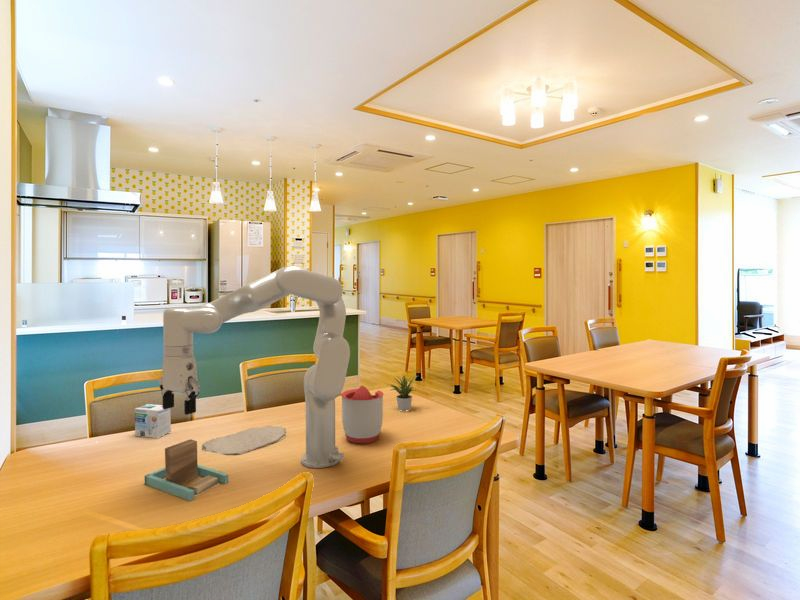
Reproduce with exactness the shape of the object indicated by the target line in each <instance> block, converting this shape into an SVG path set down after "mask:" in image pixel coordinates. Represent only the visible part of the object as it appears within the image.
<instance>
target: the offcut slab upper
mask: <svg viewBox="0 0 800 600" xmlns="http://www.w3.org/2000/svg"><path fill="white" fill-rule="evenodd" d="M217 484H219V482H218V478H216V477H212V476H206V477H202V478H201V479H198V480H196V481H194V482H192V483H191V484H188V485H187V488H189V489H192V490H194V494H196V495H198V494H200V493H202V492H204V491H206V490H208V489H209V488H211V487H213V486H215V485H217ZM208 491H209V490H208ZM206 492H207V491H206ZM204 493H205V492H204ZM202 494H203V493H202ZM200 495H201V494H200ZM198 496H199V495H198Z"/></svg>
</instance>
